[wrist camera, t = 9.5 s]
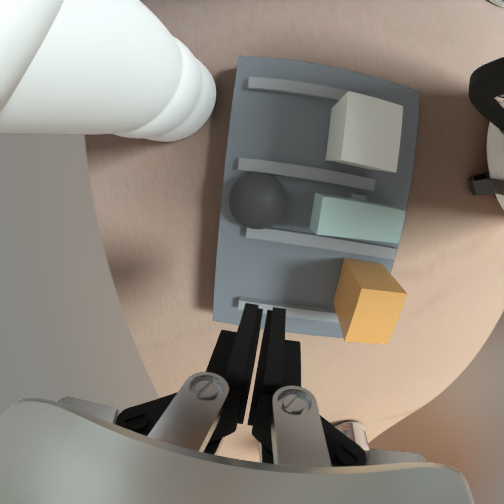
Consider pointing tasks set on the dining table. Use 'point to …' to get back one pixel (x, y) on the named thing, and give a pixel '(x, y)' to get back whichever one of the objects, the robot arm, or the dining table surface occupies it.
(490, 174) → the coffee press
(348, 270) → the orange fader
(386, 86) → the panel
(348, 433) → the beer can
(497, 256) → the dining table surface
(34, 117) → the water bottle
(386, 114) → the ivory fader
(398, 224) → the block
